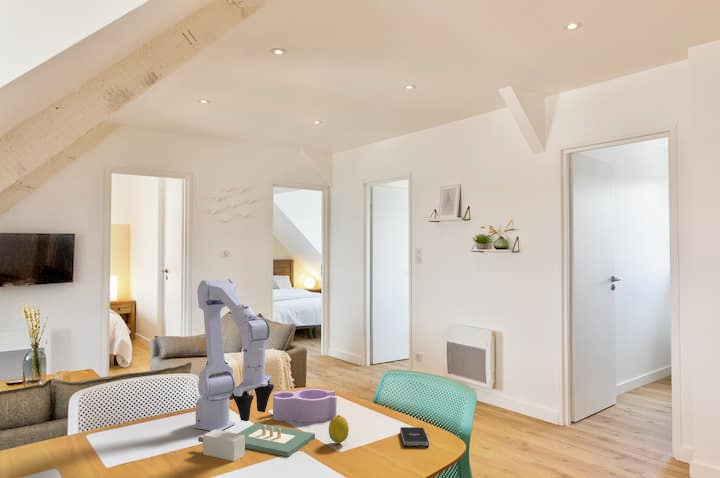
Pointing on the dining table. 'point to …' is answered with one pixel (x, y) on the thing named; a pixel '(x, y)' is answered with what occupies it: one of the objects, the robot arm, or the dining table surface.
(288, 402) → the purple lobed piece
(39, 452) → the dining table surface
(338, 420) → the lemon
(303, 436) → the board
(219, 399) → the robot arm
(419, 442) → the external hard drive
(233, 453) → the plug housing
